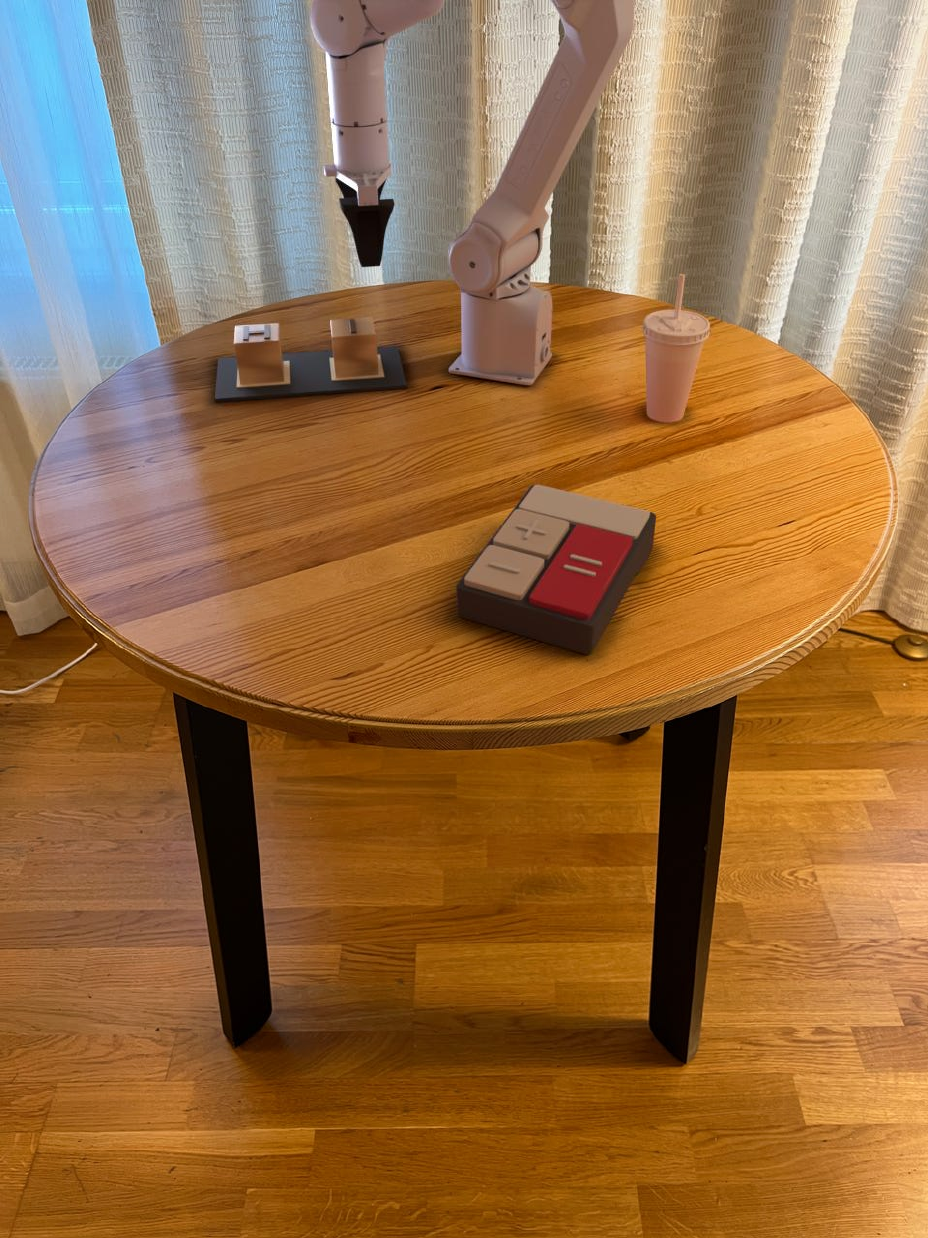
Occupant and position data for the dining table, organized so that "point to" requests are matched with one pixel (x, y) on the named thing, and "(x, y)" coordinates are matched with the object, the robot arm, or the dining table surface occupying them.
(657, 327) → the smoothie
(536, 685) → the dining table surface
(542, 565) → the calculator
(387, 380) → the word mat
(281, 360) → the letter block h
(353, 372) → the letter block i
